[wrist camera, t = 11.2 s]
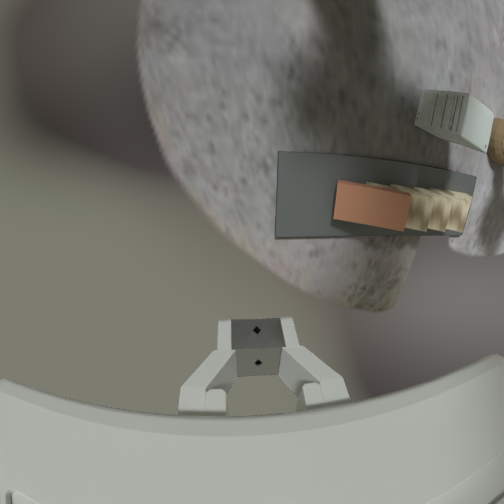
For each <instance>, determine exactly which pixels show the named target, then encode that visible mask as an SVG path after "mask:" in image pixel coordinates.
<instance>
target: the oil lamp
mask: <svg viewBox="0 0 504 504" xmlns="http://www.w3.org/2000/svg"><path fill="white" fill-rule="evenodd" d="M487 151H488V154H489V157H490V159H491V160H492V161H493V162H494V163H497V164H500V165H504V120H502V119H499V118H495V119H493V124H492V130H491V135H490V140H489V145H488V149H487Z"/></svg>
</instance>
